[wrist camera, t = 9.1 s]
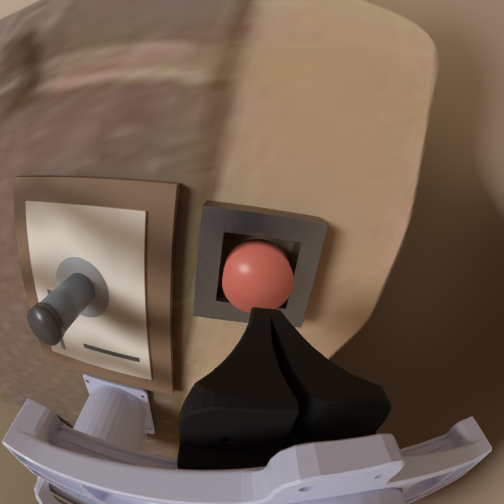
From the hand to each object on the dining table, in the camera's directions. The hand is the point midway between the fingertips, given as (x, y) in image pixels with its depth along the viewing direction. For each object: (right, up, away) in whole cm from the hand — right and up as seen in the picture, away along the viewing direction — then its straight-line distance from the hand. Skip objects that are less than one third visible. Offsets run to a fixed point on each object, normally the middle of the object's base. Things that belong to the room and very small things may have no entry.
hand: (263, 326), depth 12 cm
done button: (0, +2, +6) cm, 7 cm away
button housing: (0, +3, +8) cm, 8 cm away
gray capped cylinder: (-15, 0, +7) cm, 16 cm away
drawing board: (-15, 0, +8) cm, 17 cm away
